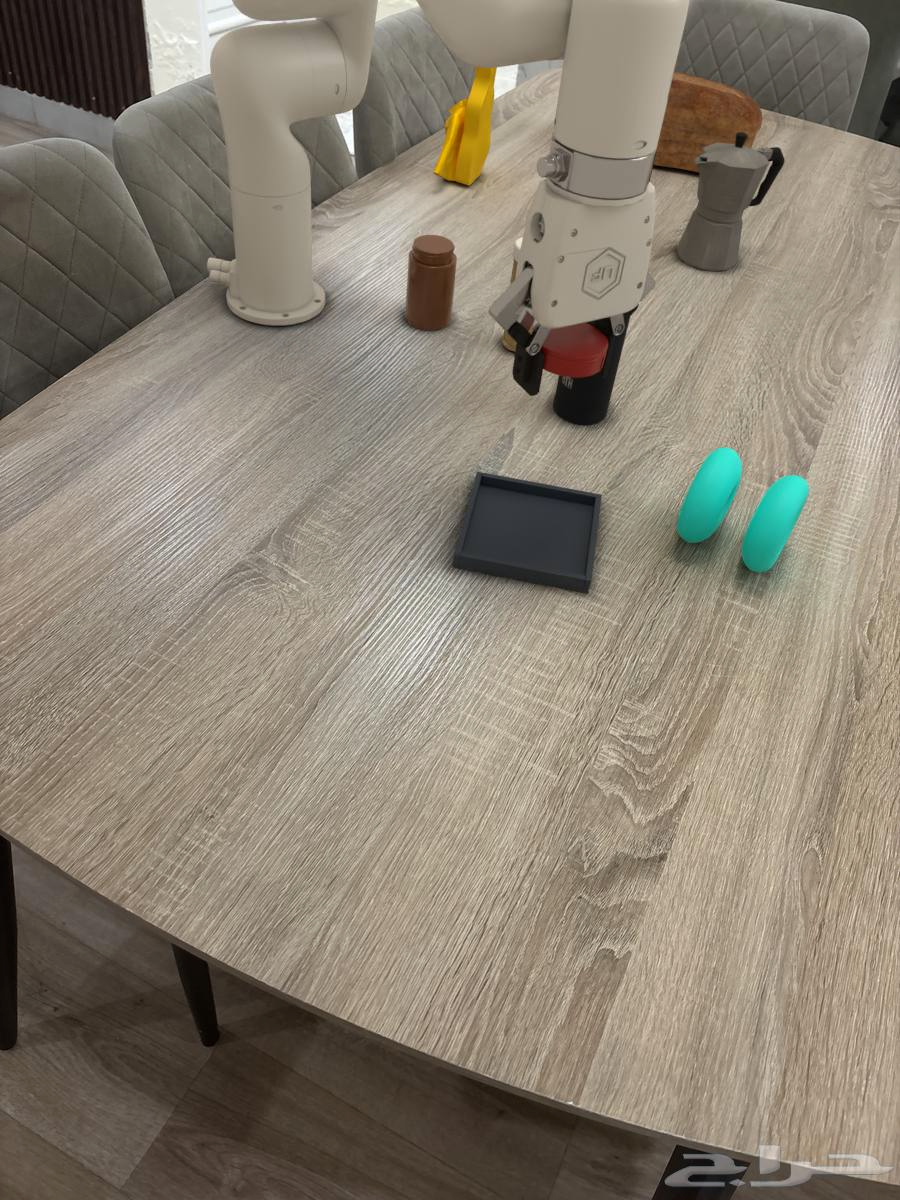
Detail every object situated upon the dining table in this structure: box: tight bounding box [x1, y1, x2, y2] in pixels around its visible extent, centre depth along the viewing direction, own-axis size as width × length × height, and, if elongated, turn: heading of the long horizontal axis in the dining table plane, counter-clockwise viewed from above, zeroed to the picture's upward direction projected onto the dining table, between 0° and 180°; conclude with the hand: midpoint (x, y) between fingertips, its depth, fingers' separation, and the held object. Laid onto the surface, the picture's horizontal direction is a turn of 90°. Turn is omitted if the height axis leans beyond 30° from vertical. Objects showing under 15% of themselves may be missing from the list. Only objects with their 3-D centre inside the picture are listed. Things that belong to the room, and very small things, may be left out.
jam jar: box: [404, 234, 458, 331], centre depth 119 cm, size 6×6×10 cm
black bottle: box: [552, 149, 657, 426], centre depth 100 cm, size 6×6×30 cm
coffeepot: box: [676, 132, 786, 272], centre depth 136 cm, size 15×9×18 cm, turn 113°
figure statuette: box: [432, 66, 498, 186], centre depth 147 cm, size 18×8×22 cm, turn 159°
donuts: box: [676, 446, 810, 573], centre depth 92 cm, size 10×10×10 cm
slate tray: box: [452, 471, 603, 594], centre depth 94 cm, size 13×13×2 cm
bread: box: [653, 70, 763, 174], centre depth 164 cm, size 12×31×14 cm, turn 75°
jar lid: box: [532, 323, 608, 378], centre depth 79 cm, size 6×6×2 cm
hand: (559, 377), depth 81 cm, fingers closed on jar lid, 6 cm apart
